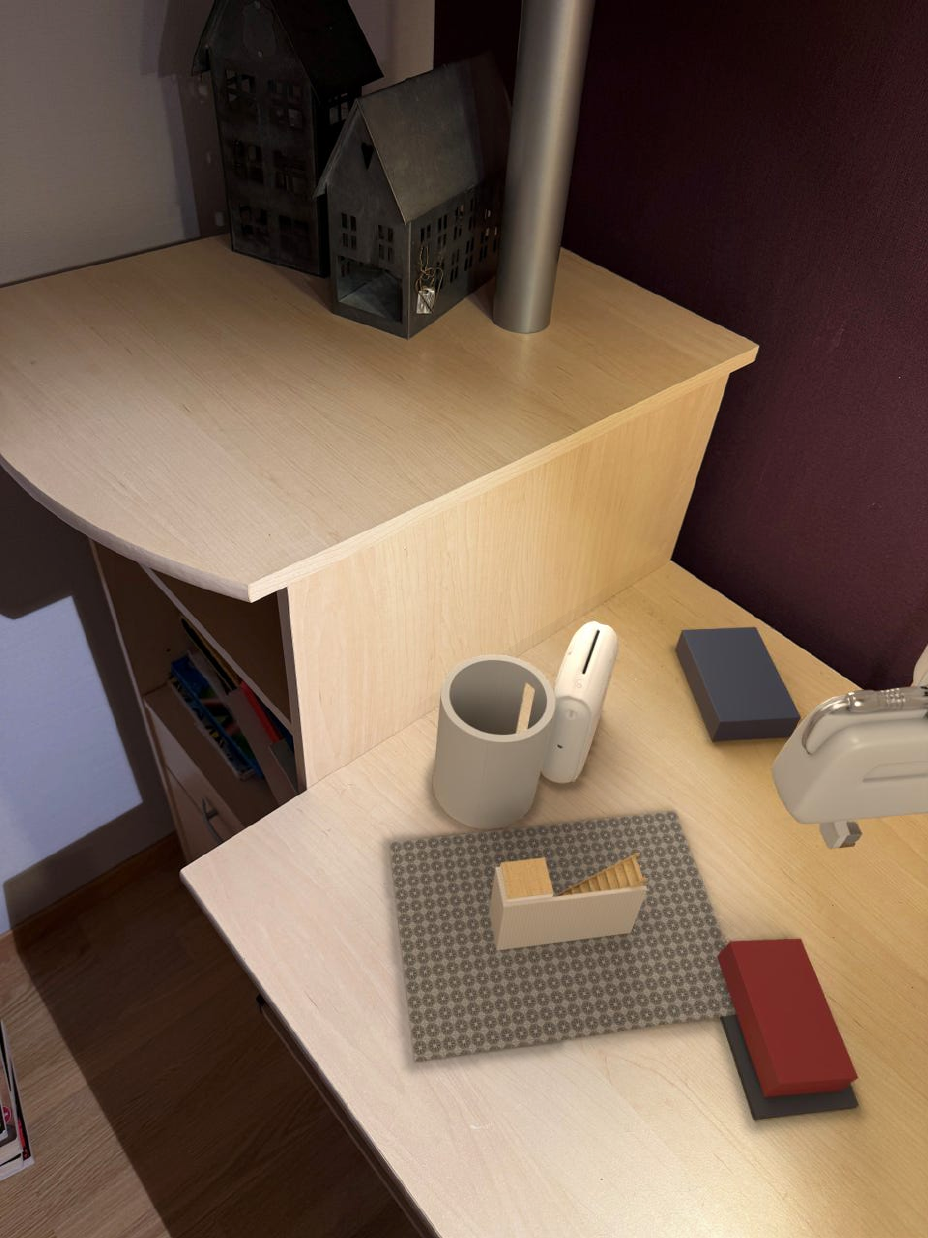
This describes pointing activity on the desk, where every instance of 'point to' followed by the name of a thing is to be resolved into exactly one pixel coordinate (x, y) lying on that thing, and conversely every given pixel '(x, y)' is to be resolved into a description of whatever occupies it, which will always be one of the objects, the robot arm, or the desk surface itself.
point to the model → (554, 934)
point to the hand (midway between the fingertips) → (906, 831)
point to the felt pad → (785, 1103)
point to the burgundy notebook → (785, 1018)
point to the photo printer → (579, 700)
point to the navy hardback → (736, 684)
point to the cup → (490, 740)
